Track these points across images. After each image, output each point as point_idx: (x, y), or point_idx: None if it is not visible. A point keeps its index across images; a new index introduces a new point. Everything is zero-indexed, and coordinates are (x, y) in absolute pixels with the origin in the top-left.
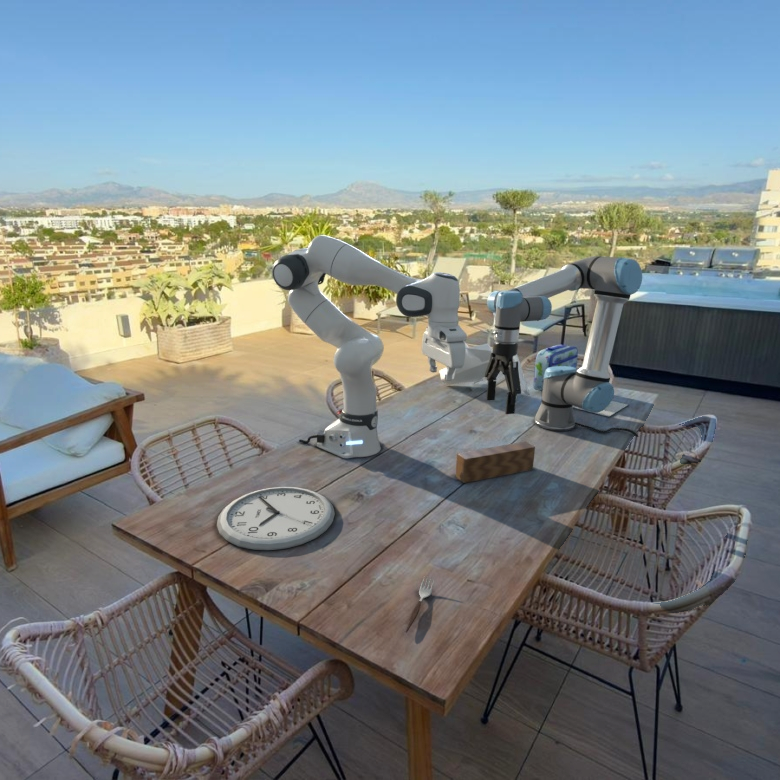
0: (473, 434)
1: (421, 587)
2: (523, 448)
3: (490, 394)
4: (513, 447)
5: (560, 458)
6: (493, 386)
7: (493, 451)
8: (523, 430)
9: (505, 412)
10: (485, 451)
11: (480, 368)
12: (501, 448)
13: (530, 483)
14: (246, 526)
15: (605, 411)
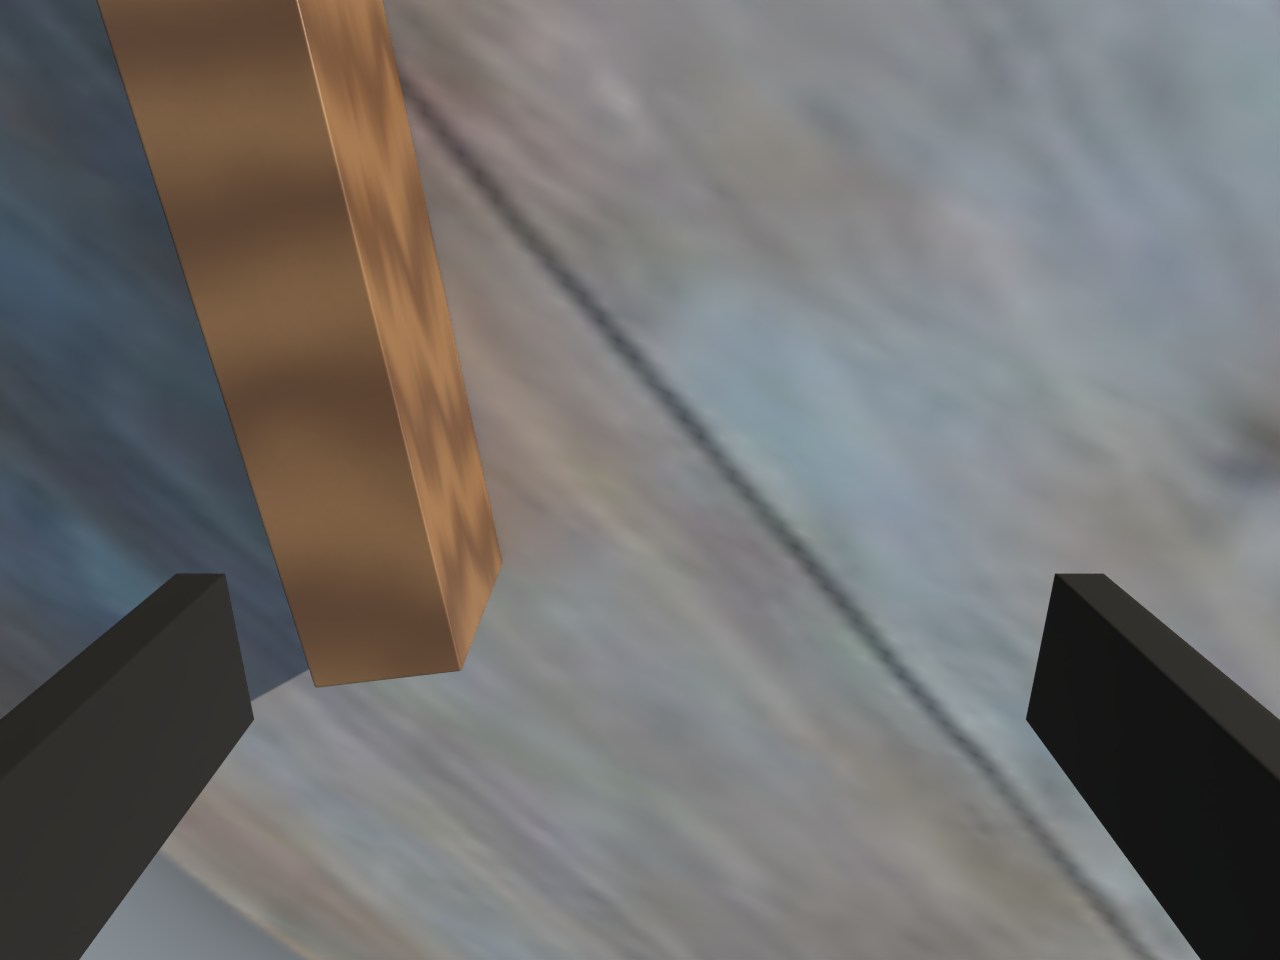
0: (1196, 433)
1: None
2: (288, 568)
3: (1119, 713)
4: (323, 484)
5: (536, 838)
6: (1247, 938)
7: (231, 210)
8: (1082, 848)
9: (214, 584)
10: (237, 108)
11: None
12: (309, 345)
13: (163, 449)
14: None
15: None
